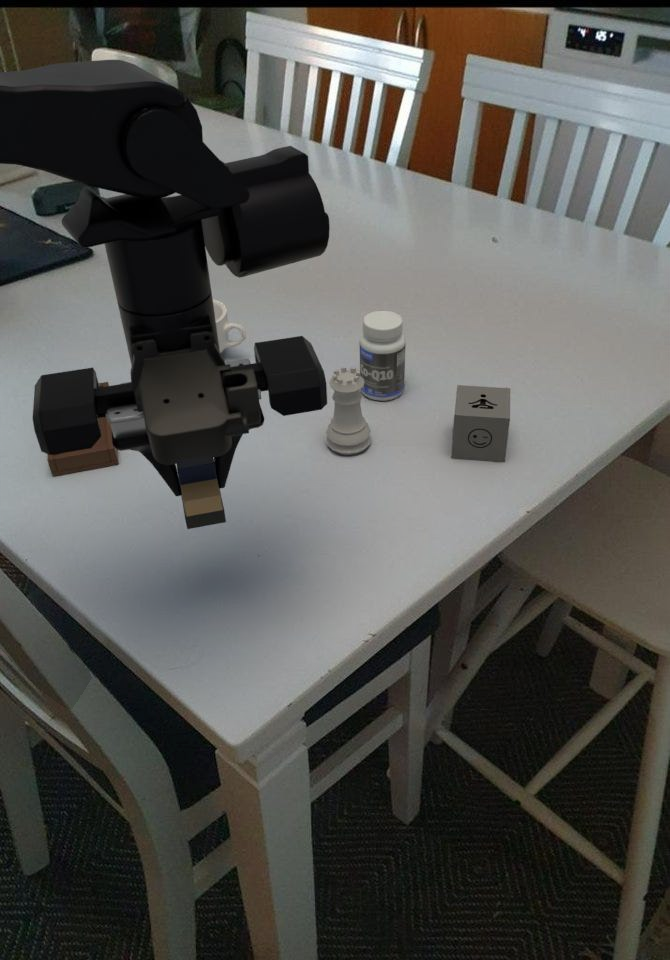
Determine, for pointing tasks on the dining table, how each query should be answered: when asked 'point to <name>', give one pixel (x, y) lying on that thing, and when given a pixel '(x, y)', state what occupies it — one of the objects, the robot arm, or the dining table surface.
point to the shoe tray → (87, 453)
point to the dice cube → (481, 423)
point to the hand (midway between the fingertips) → (199, 488)
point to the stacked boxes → (200, 492)
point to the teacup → (225, 327)
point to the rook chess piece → (347, 414)
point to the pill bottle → (382, 356)
